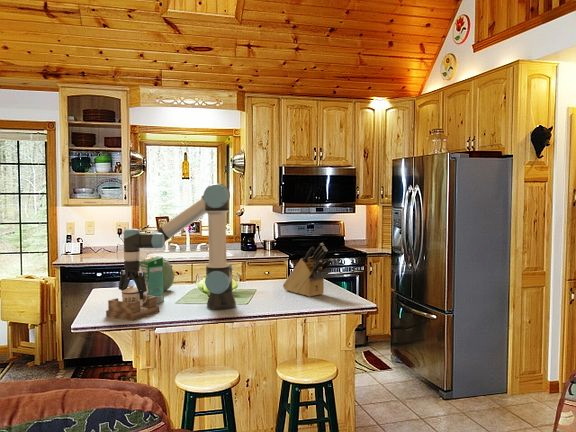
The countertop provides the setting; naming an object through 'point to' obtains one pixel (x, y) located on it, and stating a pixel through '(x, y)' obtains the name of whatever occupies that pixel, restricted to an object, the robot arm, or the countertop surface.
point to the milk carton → (153, 276)
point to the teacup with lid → (131, 295)
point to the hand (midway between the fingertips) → (132, 304)
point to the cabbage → (167, 275)
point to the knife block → (309, 273)
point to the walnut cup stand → (132, 308)
